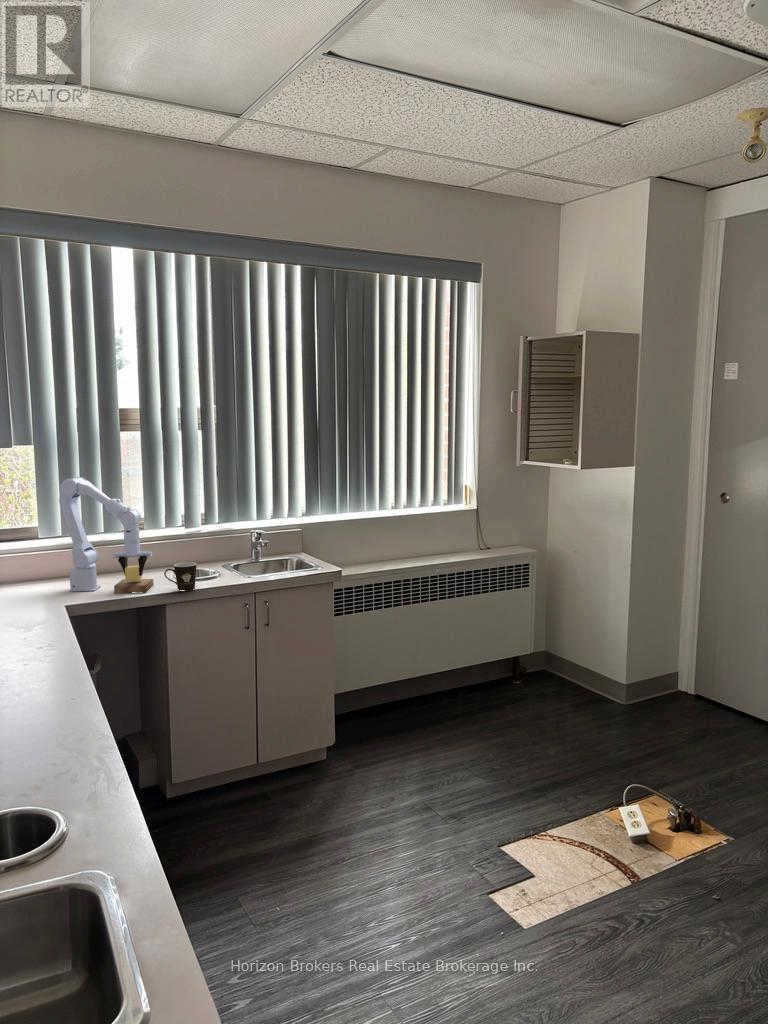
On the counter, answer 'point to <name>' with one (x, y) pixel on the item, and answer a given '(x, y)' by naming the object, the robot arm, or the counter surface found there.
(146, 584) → the walnut base
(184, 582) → the coffee mug
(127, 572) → the mustard cube
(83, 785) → the counter surface
